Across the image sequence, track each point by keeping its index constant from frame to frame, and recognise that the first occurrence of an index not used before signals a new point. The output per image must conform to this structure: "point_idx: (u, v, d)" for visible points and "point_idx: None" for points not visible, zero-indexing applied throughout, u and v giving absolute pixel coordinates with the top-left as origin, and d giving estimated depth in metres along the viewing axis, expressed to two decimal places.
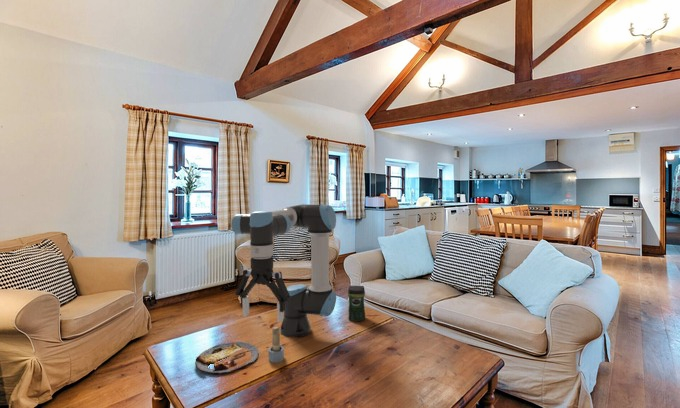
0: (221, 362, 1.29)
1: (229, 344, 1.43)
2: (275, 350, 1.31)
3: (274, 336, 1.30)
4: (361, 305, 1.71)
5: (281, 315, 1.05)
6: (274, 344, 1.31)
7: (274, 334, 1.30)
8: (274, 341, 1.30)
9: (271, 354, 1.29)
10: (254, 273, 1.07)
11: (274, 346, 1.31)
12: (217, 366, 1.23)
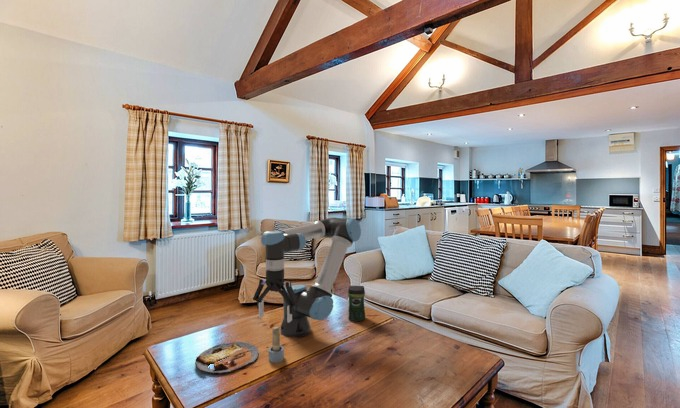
0: (221, 362, 1.29)
1: (229, 344, 1.43)
2: (275, 350, 1.31)
3: (274, 336, 1.30)
4: (361, 305, 1.71)
5: (290, 316, 1.29)
6: (274, 344, 1.31)
7: (274, 334, 1.30)
8: (274, 341, 1.30)
9: (271, 354, 1.29)
10: (268, 282, 1.30)
11: (274, 346, 1.31)
12: (217, 366, 1.23)
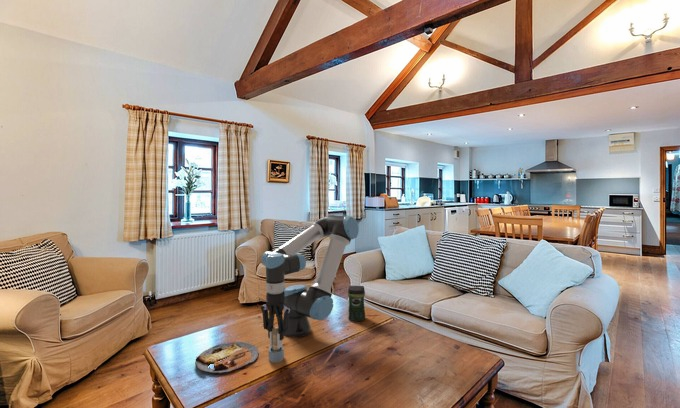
0: (221, 362, 1.29)
1: (229, 344, 1.43)
2: (275, 350, 1.31)
3: (274, 336, 1.30)
4: (361, 305, 1.71)
5: (280, 342, 1.31)
6: (274, 344, 1.31)
7: (274, 334, 1.30)
8: (274, 341, 1.30)
9: (271, 354, 1.29)
10: (269, 304, 1.31)
11: (274, 346, 1.31)
12: (217, 366, 1.23)
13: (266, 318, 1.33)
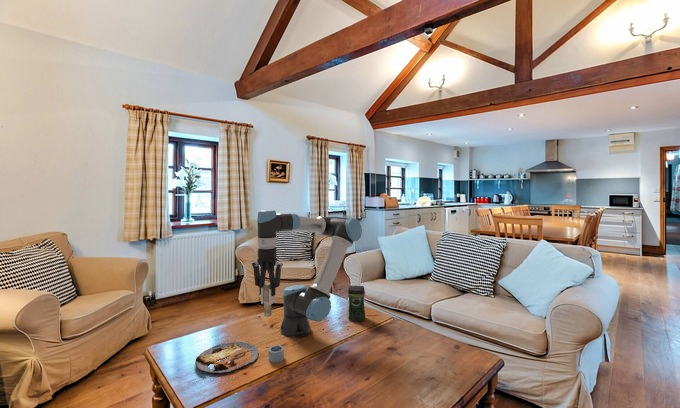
0: (221, 362, 1.29)
1: (229, 344, 1.43)
2: (267, 306, 1.30)
3: (266, 292, 1.30)
4: (361, 305, 1.71)
5: (272, 299, 1.31)
6: (266, 300, 1.30)
7: (266, 290, 1.30)
8: (266, 297, 1.30)
9: (271, 354, 1.29)
10: (260, 260, 1.30)
11: (266, 302, 1.30)
12: (217, 366, 1.23)
13: (257, 275, 1.32)
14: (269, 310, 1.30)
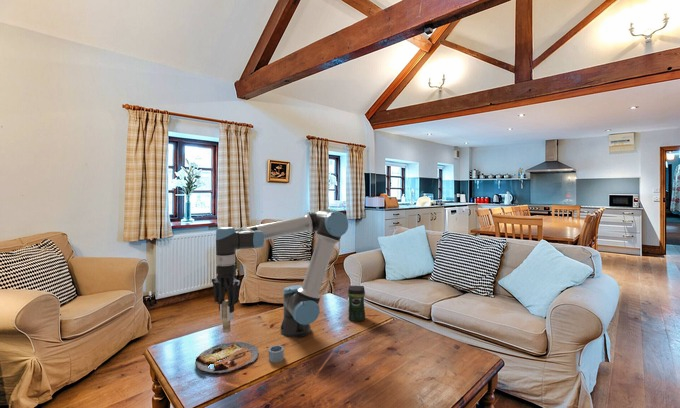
0: (221, 362, 1.29)
1: (229, 344, 1.44)
2: (225, 322, 1.31)
3: (224, 308, 1.31)
4: (361, 305, 1.71)
5: (231, 315, 1.32)
6: (224, 316, 1.31)
7: (224, 306, 1.31)
8: (224, 314, 1.31)
9: (271, 354, 1.29)
10: (219, 276, 1.31)
11: (224, 318, 1.31)
12: (217, 366, 1.23)
13: (217, 291, 1.33)
14: (227, 326, 1.31)
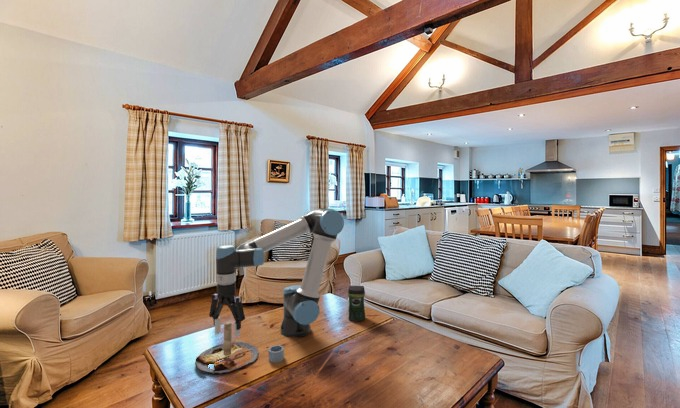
0: (221, 362, 1.29)
1: None
2: (226, 345, 1.31)
3: (225, 331, 1.31)
4: (361, 305, 1.71)
5: (237, 332, 1.31)
6: (225, 339, 1.31)
7: (225, 329, 1.31)
8: (225, 337, 1.31)
9: (271, 354, 1.29)
10: (220, 295, 1.32)
11: (225, 341, 1.31)
12: (217, 366, 1.23)
13: (214, 307, 1.34)
14: (228, 349, 1.32)
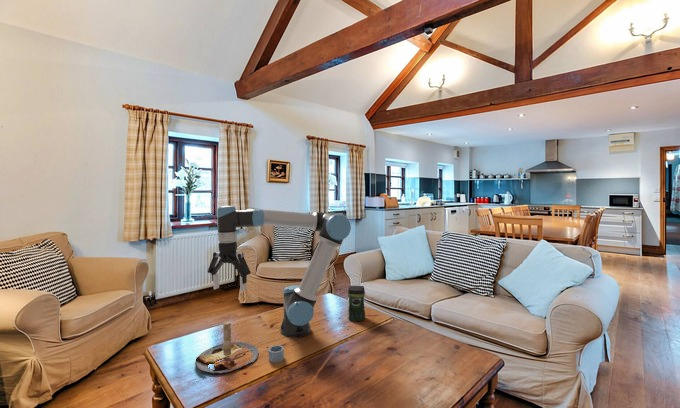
0: (221, 362, 1.29)
1: None
2: (226, 345, 1.32)
3: (225, 331, 1.31)
4: (361, 305, 1.71)
5: (243, 286, 1.35)
6: (225, 339, 1.31)
7: (225, 329, 1.31)
8: (225, 337, 1.31)
9: (271, 354, 1.29)
10: (222, 254, 1.36)
11: (225, 341, 1.32)
12: (217, 366, 1.23)
13: (213, 264, 1.38)
14: (228, 349, 1.32)
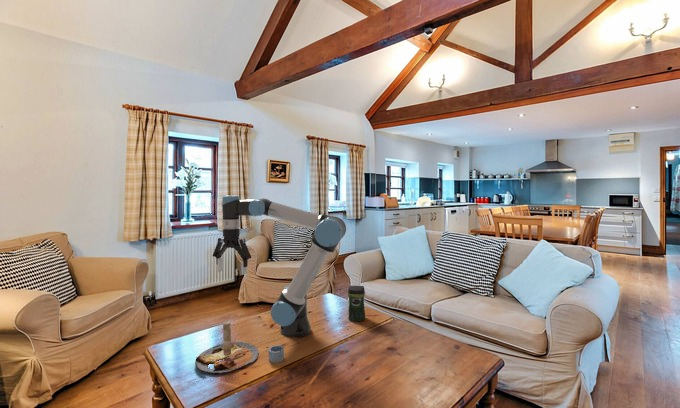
0: (221, 362, 1.29)
1: None
2: (226, 345, 1.32)
3: (224, 331, 1.31)
4: (361, 305, 1.71)
5: (244, 270, 1.47)
6: (224, 339, 1.31)
7: (224, 329, 1.31)
8: (225, 337, 1.31)
9: (271, 354, 1.29)
10: (225, 240, 1.48)
11: (224, 341, 1.31)
12: (217, 366, 1.23)
13: (218, 249, 1.51)
14: (228, 349, 1.32)
